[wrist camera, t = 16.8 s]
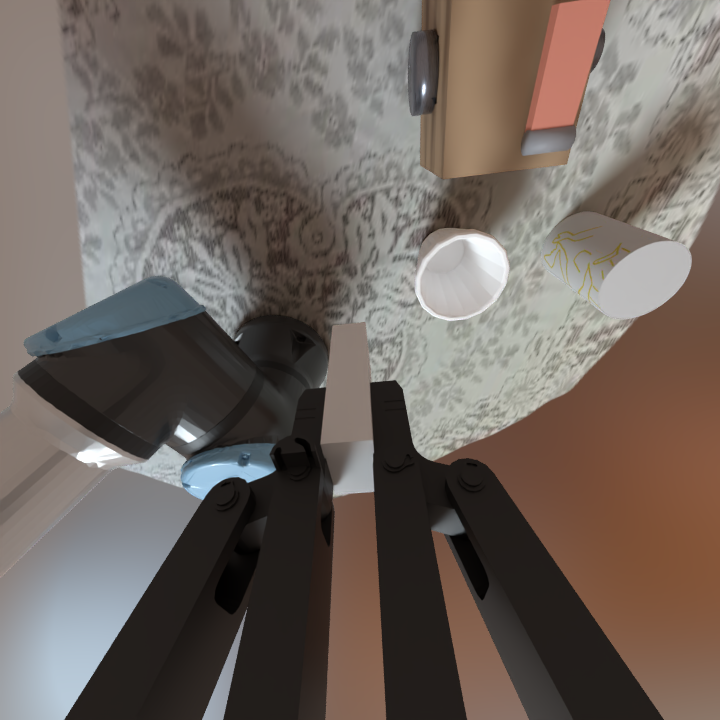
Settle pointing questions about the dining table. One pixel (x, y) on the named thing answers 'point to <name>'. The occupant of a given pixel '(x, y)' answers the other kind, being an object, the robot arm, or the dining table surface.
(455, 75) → the block
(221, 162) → the dining table surface
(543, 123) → the keeper tab
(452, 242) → the cup
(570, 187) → the dining table surface
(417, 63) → the hitch pin
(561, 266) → the cup
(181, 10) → the dining table surface
